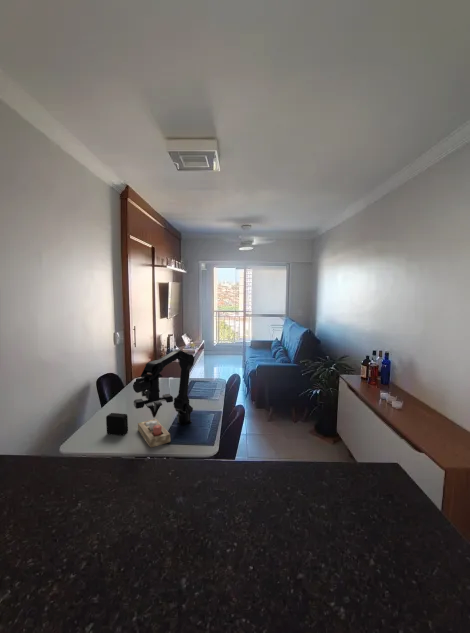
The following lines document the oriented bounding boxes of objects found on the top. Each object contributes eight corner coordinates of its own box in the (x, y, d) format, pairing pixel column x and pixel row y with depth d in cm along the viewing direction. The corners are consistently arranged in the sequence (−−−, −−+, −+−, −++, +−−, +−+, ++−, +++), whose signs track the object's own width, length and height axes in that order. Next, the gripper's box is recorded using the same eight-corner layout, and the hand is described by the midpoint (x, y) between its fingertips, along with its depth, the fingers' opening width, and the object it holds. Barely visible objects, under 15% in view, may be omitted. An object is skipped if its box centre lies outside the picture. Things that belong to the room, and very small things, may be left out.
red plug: (160, 432, 152) (159, 424, 151) (162, 435, 148) (162, 427, 148) (152, 434, 149) (152, 426, 149) (154, 437, 146) (154, 429, 146)
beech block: (156, 425, 166) (155, 418, 166) (170, 441, 148) (170, 434, 148) (138, 430, 161) (137, 423, 161) (150, 447, 143) (150, 439, 142)
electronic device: (123, 435, 155) (123, 417, 154) (106, 434, 157) (105, 415, 156) (128, 432, 159) (127, 414, 158) (111, 430, 161) (110, 412, 160)
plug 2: (155, 427, 157) (155, 420, 157) (158, 430, 154) (158, 422, 153) (148, 429, 155) (148, 421, 155) (150, 432, 152) (150, 424, 151)
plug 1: (152, 427, 163) (151, 420, 162) (154, 430, 159) (154, 423, 159) (144, 429, 160) (144, 422, 160) (147, 432, 157) (146, 425, 157)
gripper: (166, 380, 161) (166, 408, 162) (130, 386, 152) (131, 415, 153) (173, 385, 152) (173, 415, 153) (135, 392, 142) (136, 423, 143)
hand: (154, 417), depth 151 cm, fingers closed
